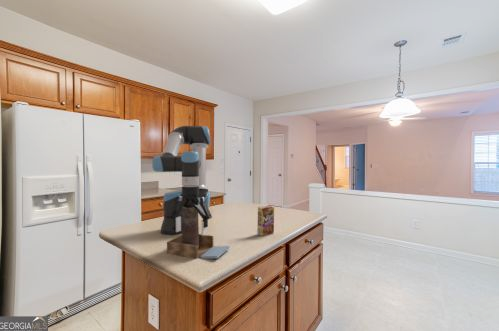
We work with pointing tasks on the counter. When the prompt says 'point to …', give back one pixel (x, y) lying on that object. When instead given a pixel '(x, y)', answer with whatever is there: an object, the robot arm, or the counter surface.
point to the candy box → (265, 220)
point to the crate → (189, 246)
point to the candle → (190, 226)
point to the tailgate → (214, 252)
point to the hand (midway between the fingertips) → (190, 232)
